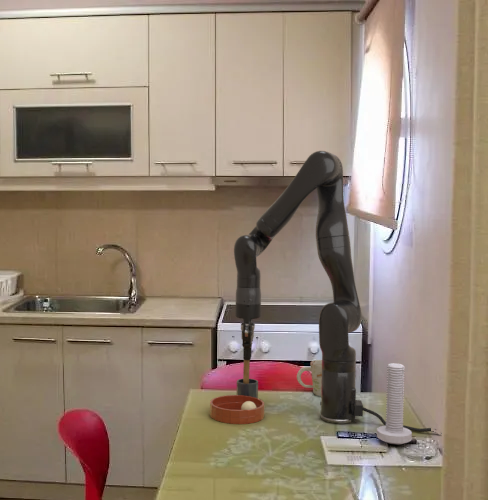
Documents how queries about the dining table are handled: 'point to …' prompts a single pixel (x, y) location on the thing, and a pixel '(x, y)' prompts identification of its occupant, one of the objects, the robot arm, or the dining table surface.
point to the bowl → (236, 409)
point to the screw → (395, 408)
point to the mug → (313, 376)
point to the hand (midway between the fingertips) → (247, 358)
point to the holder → (247, 388)
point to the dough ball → (248, 405)
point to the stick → (246, 371)
